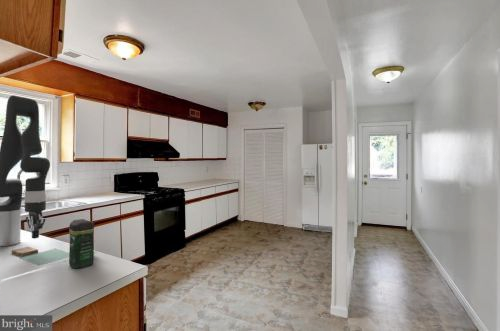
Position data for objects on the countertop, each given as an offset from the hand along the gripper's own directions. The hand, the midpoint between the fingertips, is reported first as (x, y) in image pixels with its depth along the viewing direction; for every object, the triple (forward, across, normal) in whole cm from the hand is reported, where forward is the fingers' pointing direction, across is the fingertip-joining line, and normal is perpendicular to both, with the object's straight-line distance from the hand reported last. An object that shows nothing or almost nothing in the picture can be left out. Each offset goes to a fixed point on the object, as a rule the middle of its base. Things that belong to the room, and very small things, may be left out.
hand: (35, 238), depth 121 cm
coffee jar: (+7, +31, +3) cm, 32 cm away
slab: (+6, +2, -3) cm, 7 cm away
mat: (+7, +11, 0) cm, 13 cm away
